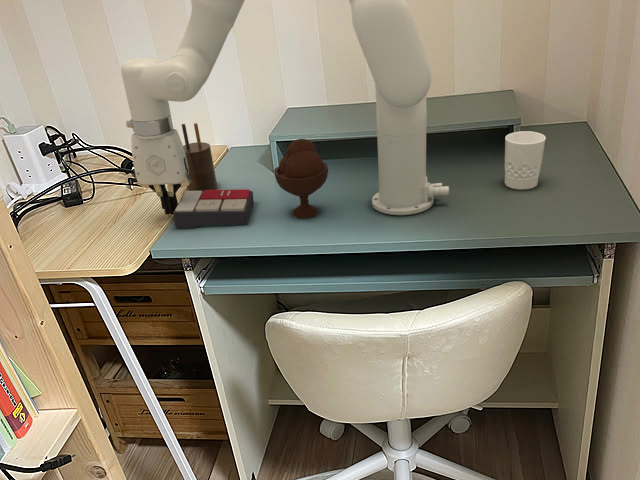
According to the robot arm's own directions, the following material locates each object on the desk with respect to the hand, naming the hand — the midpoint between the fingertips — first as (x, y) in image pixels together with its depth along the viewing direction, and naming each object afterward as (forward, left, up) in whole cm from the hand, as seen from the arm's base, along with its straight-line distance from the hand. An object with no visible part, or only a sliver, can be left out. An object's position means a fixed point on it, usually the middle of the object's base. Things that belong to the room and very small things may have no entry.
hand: (171, 211), depth 136 cm
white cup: (-74, -11, -2) cm, 75 cm away
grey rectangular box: (-10, 0, -2) cm, 10 cm away
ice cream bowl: (-29, 0, -2) cm, 29 cm away
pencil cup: (-3, -15, -1) cm, 15 cm away
